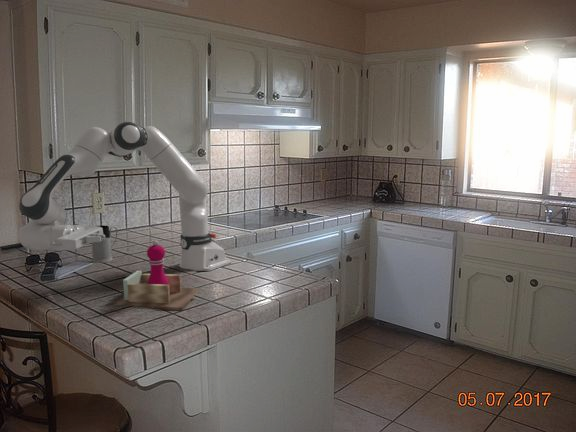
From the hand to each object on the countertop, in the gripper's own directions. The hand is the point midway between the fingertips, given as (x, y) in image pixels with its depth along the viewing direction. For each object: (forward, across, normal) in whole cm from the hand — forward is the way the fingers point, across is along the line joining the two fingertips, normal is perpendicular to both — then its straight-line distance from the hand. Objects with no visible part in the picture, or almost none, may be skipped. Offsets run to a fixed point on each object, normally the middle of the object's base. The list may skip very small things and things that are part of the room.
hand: (102, 238), depth 181 cm
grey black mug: (-26, +51, +22) cm, 61 cm away
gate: (+9, +1, +20) cm, 22 cm away
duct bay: (+17, +1, +22) cm, 28 cm away
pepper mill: (+19, 0, +21) cm, 28 cm away
